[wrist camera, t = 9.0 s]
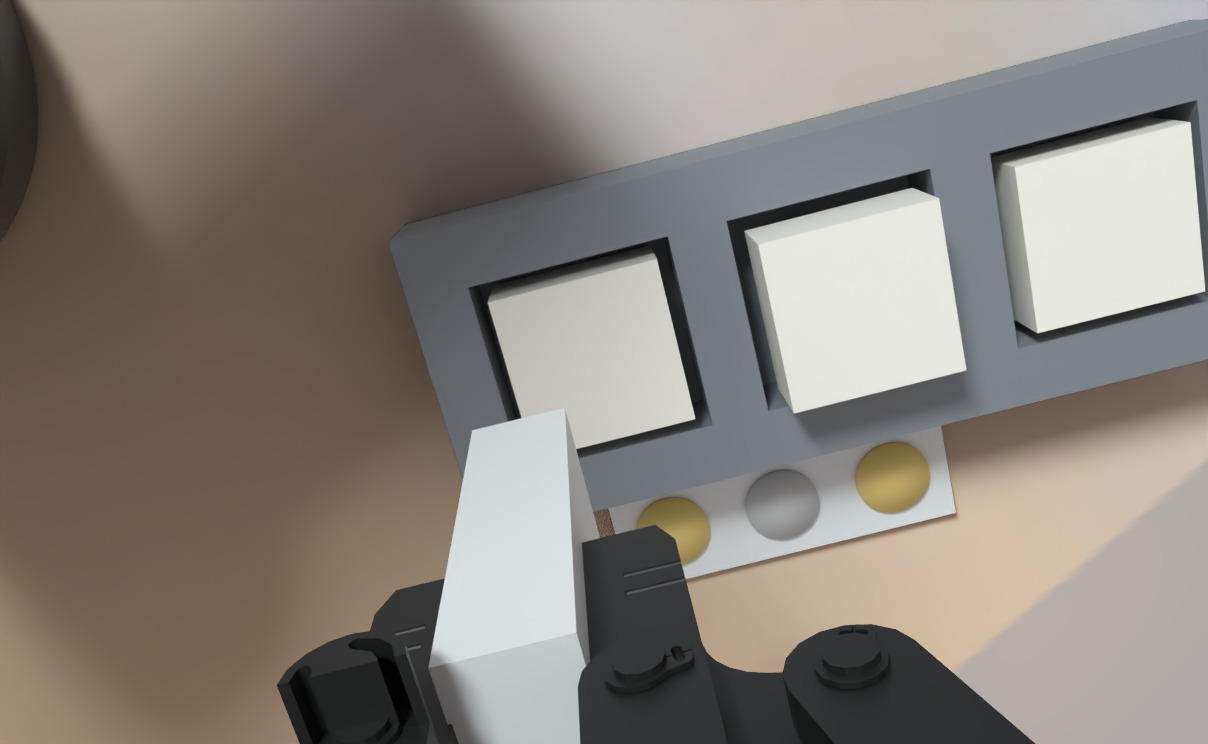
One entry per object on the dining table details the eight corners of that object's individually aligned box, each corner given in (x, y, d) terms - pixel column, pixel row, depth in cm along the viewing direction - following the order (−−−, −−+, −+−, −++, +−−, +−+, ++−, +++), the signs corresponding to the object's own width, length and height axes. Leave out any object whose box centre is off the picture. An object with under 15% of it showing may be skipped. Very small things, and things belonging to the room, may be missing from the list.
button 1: (535, 433, 36) (533, 459, 33) (492, 285, 34) (487, 302, 32) (686, 395, 36) (695, 419, 33) (650, 244, 34) (656, 259, 32)
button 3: (1006, 314, 35) (1037, 333, 33) (983, 159, 34) (1014, 167, 31) (1163, 275, 35) (1205, 291, 33) (1147, 117, 33) (1190, 121, 31)
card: (630, 587, 39) (631, 595, 39) (603, 489, 38) (604, 496, 37) (951, 508, 39) (957, 515, 38) (934, 407, 38) (940, 412, 37)
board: (489, 496, 38) (482, 539, 35) (404, 224, 35) (388, 242, 32) (1214, 315, 37) (1279, 341, 34) (1189, 20, 34) (1257, 17, 31)
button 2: (778, 389, 34) (794, 413, 32) (744, 230, 32) (758, 244, 30) (939, 348, 34) (966, 370, 31) (912, 187, 32) (939, 198, 30)
